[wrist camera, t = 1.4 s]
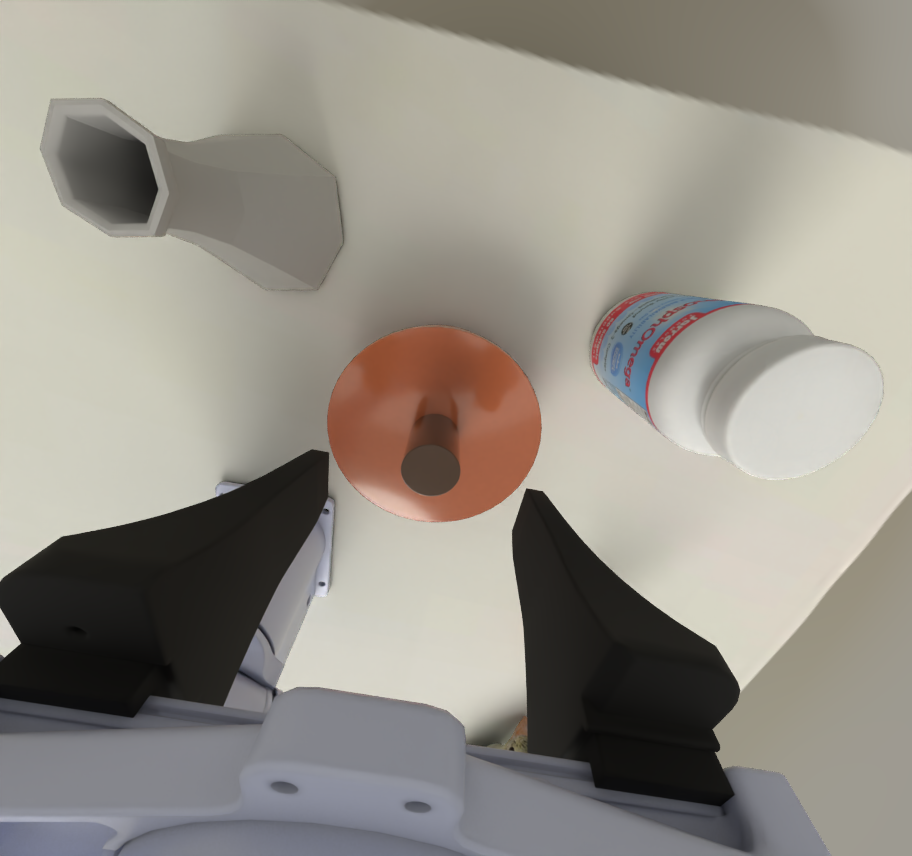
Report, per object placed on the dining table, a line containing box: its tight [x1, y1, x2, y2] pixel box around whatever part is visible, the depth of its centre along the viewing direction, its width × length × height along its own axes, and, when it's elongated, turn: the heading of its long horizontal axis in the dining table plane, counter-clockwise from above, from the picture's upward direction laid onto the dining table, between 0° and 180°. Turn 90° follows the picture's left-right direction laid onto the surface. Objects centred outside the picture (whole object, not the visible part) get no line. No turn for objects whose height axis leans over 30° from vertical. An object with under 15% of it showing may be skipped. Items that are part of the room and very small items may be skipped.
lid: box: [327, 325, 542, 522], centre depth 18 cm, size 11×11×5 cm
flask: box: [40, 98, 343, 290], centre depth 14 cm, size 7×7×10 cm
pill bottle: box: [589, 292, 884, 480], centre depth 16 cm, size 6×6×11 cm
